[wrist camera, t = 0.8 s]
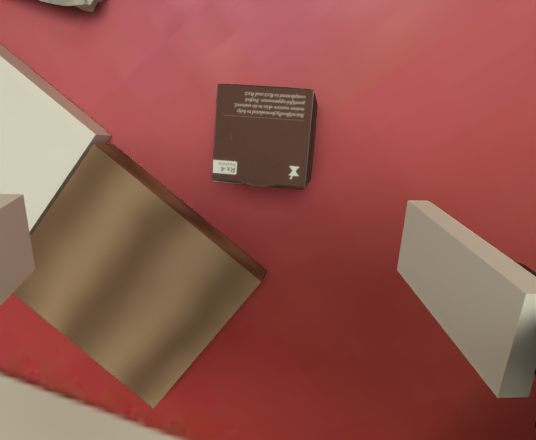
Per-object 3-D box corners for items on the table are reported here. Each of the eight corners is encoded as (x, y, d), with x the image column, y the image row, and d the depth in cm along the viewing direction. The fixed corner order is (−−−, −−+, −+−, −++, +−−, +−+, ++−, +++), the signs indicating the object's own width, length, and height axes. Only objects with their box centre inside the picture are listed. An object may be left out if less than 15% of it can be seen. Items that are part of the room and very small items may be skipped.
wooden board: (266, 270, 35) (261, 281, 32) (166, 388, 38) (153, 408, 35) (113, 144, 35) (93, 143, 32) (24, 271, 38) (-1, 281, 35)
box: (319, 102, 32) (317, 88, 25) (311, 182, 33) (307, 191, 26) (239, 96, 33) (215, 81, 26) (233, 175, 34) (209, 181, 27)
